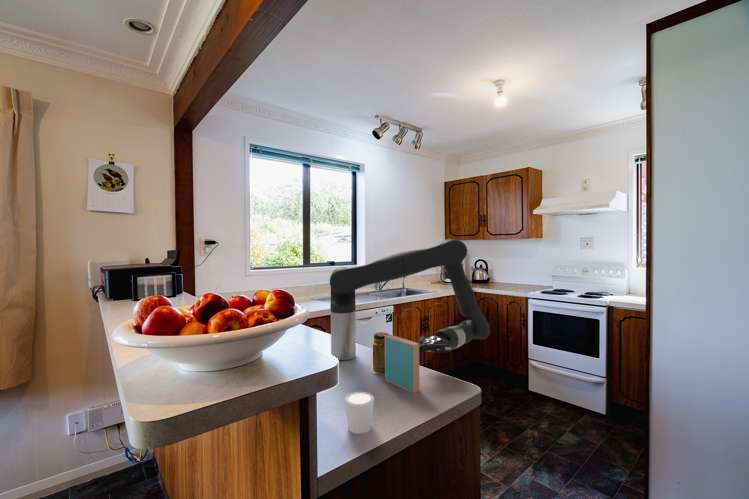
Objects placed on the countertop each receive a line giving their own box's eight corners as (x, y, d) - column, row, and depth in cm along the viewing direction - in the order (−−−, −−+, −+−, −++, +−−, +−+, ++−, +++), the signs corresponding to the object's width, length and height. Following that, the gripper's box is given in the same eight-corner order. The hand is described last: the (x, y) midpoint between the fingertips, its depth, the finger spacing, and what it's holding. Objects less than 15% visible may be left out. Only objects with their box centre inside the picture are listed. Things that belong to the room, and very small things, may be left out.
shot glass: (339, 430, 79) (339, 401, 79) (354, 416, 85) (354, 389, 85) (365, 438, 76) (365, 407, 75) (379, 423, 82) (379, 394, 81)
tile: (389, 378, 107) (389, 334, 107) (419, 390, 99) (419, 343, 98) (384, 380, 106) (384, 335, 105) (414, 393, 97) (413, 345, 96)
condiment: (371, 365, 118) (370, 331, 117) (395, 364, 119) (395, 330, 118) (373, 374, 110) (372, 338, 110) (398, 373, 111) (398, 337, 111)
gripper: (434, 324, 123) (402, 333, 112) (466, 331, 114) (434, 343, 102) (434, 344, 124) (402, 356, 112) (466, 353, 114) (434, 367, 102)
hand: (417, 349), depth 107 cm, fingers closed
